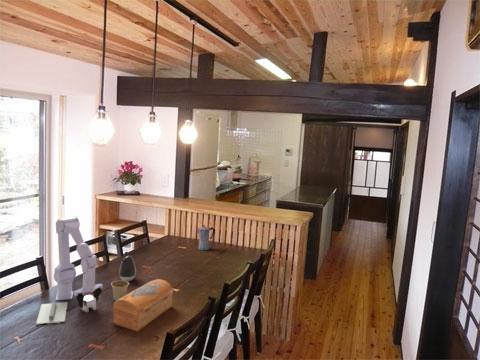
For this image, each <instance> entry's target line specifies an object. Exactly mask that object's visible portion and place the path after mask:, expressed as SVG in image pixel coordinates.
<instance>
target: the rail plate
mask: <svg viewBox="0 0 480 360" xmlns="http://www.w3.org/2000/svg"><path fill="white" fill-rule="evenodd" d="M66 310H68V301H64V302H57V300H53V301H52V302H51V303H41V305H40V308H39V311H38V312H39V313H38V316H37V319H36V321H35V322H36V323H35V325H36V324H44V323H57V324H61V323H60V322H65V323H66V317H67V311H66Z"/></svg>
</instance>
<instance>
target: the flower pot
mask: <svg viewBox="0 0 480 360" xmlns="http://www.w3.org/2000/svg"><path fill="white" fill-rule="evenodd" d="M129 282H130V281H123V280H114V281H112V282H111V284H110V285H111V288H112V295H113V300H114V301H117V300H118V299H120V298H122V297H124V296H125V295H127V291H128V288H129V285H130V283H129Z"/></svg>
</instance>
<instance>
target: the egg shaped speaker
mask: <svg viewBox="0 0 480 360" xmlns="http://www.w3.org/2000/svg"><path fill="white" fill-rule="evenodd" d="M118 270H119V271H118V277H119V278H120V279H121V280H122V281H127V282H130V281H133V280H134V279H135V277H136V275H137V268H136V263H135V261H134V259H133V257H132V256H131V255H126V256H125V257H123V258H122V259H121V263H120V266H119V269H118Z"/></svg>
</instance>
